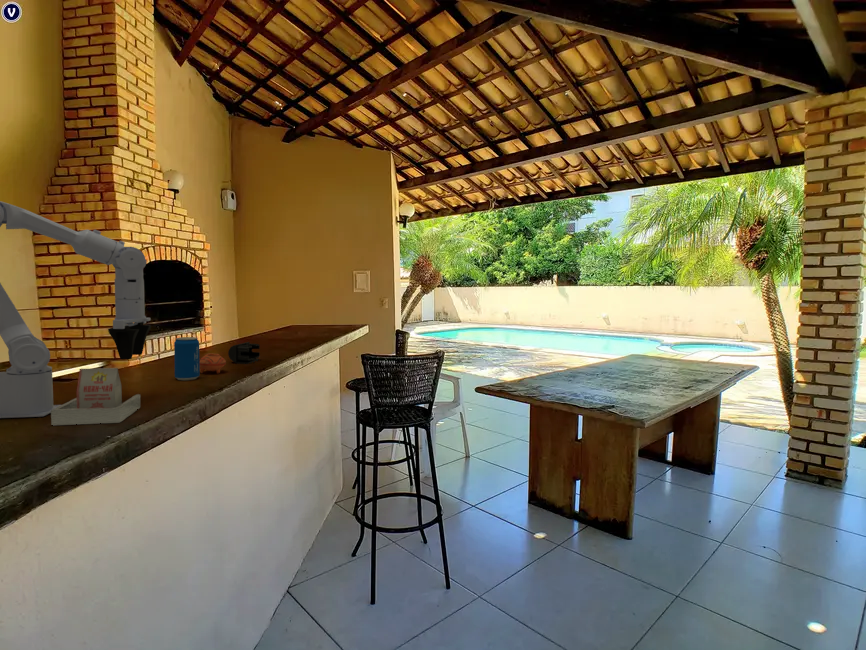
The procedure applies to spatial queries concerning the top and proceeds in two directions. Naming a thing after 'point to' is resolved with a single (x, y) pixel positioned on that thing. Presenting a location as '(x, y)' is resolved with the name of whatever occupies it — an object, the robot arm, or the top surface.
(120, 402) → the tea bag
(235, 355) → the end cap
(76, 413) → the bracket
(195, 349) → the beverage can
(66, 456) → the top surface
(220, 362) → the pot
